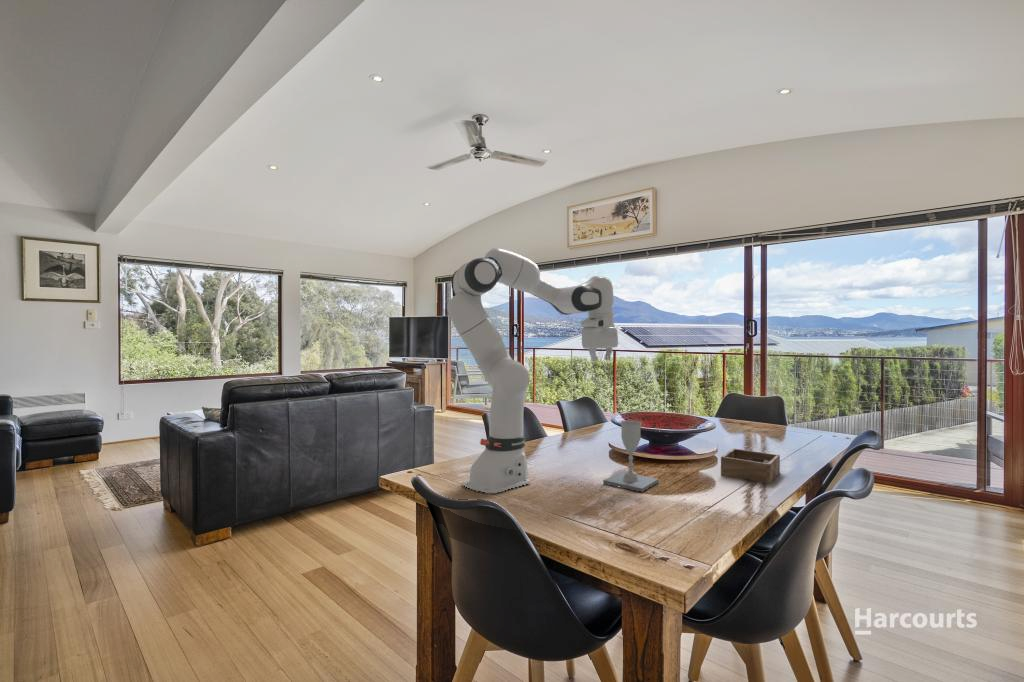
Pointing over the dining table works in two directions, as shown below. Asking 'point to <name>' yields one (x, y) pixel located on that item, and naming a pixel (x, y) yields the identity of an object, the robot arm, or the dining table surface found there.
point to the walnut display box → (750, 465)
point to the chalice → (630, 444)
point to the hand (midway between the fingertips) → (600, 360)
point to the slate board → (639, 485)
